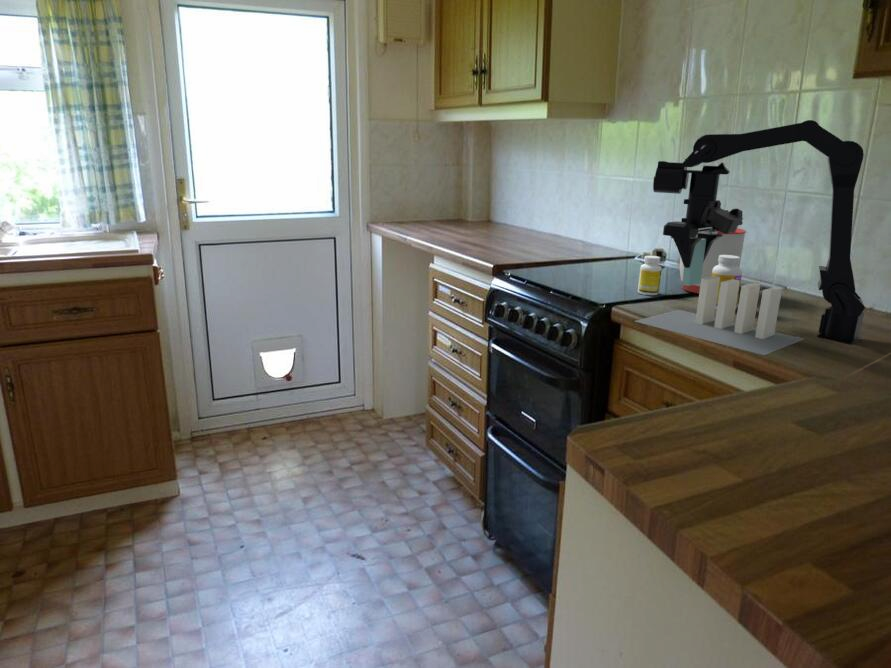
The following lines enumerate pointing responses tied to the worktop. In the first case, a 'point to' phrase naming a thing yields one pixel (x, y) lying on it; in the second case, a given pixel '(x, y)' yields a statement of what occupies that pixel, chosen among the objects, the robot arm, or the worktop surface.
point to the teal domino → (695, 265)
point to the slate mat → (719, 332)
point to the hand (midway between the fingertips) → (693, 266)
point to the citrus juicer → (721, 246)
